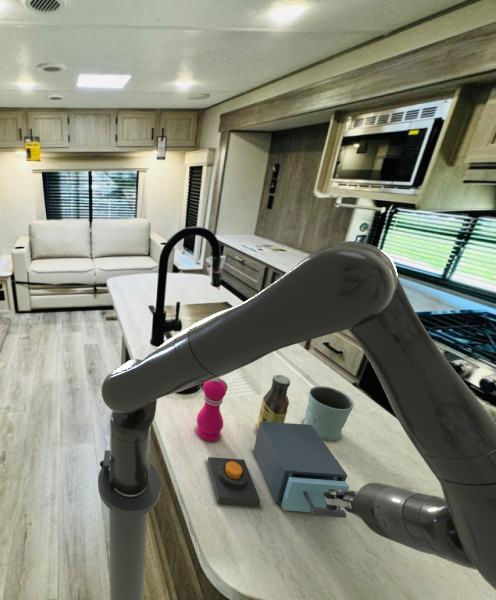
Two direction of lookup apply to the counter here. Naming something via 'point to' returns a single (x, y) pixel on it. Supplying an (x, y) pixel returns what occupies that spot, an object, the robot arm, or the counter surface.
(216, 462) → the block
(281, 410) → the sauce bottle
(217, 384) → the pepper mill
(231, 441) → the counter surface
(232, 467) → the button
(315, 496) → the light blue drawer
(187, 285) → the counter surface
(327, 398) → the embossed plant pot
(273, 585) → the counter surface
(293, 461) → the grey drawer cabinet
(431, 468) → the robot arm
